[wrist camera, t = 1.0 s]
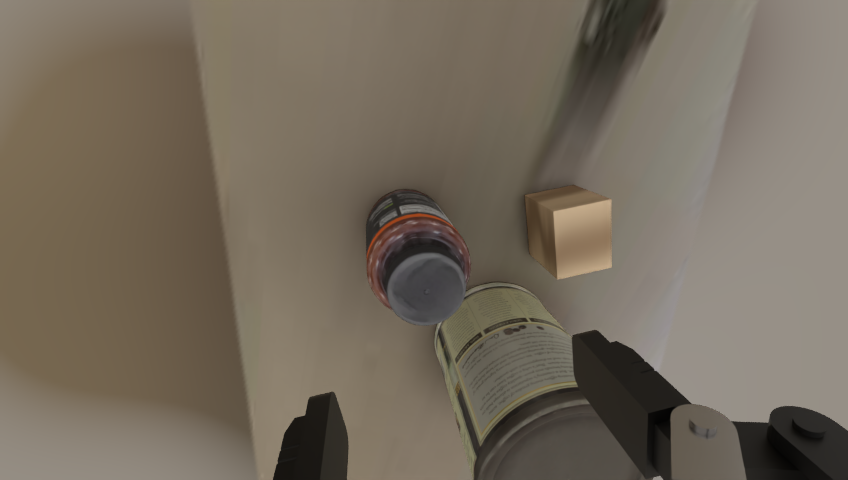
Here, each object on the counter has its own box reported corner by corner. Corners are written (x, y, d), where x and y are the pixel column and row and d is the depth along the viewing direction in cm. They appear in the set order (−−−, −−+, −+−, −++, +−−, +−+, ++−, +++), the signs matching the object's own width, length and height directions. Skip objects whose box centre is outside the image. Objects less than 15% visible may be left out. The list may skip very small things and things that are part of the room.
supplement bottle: (422, 273, 31) (450, 360, 20) (353, 244, 30) (344, 322, 19) (457, 207, 30) (507, 263, 19) (386, 173, 28) (397, 214, 18)
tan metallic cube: (524, 194, 30) (553, 211, 25) (573, 184, 30) (611, 199, 26) (529, 253, 32) (557, 279, 27) (575, 243, 32) (611, 267, 27)
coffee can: (570, 330, 35) (693, 468, 22) (484, 402, 36) (551, 572, 23) (500, 256, 32) (595, 364, 18) (408, 337, 33) (435, 493, 20)
